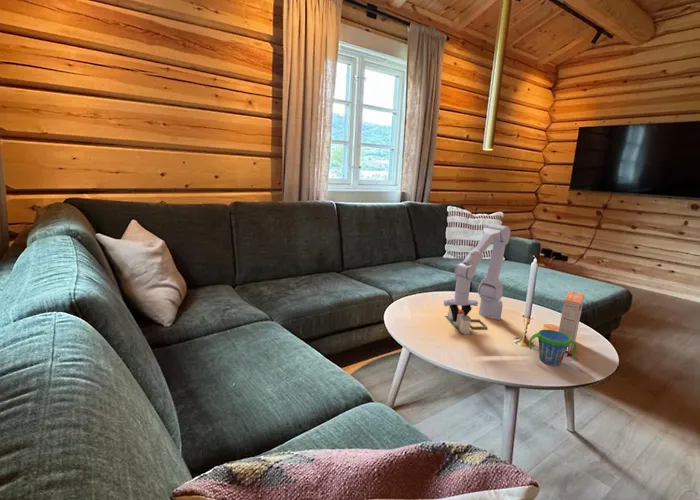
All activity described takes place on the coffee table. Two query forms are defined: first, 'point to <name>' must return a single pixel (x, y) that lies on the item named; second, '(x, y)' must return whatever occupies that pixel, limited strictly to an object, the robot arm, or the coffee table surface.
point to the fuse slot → (465, 323)
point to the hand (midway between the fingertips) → (458, 321)
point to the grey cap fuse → (450, 313)
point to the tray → (479, 322)
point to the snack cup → (552, 346)
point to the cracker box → (571, 316)
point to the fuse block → (458, 327)
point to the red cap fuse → (459, 317)
